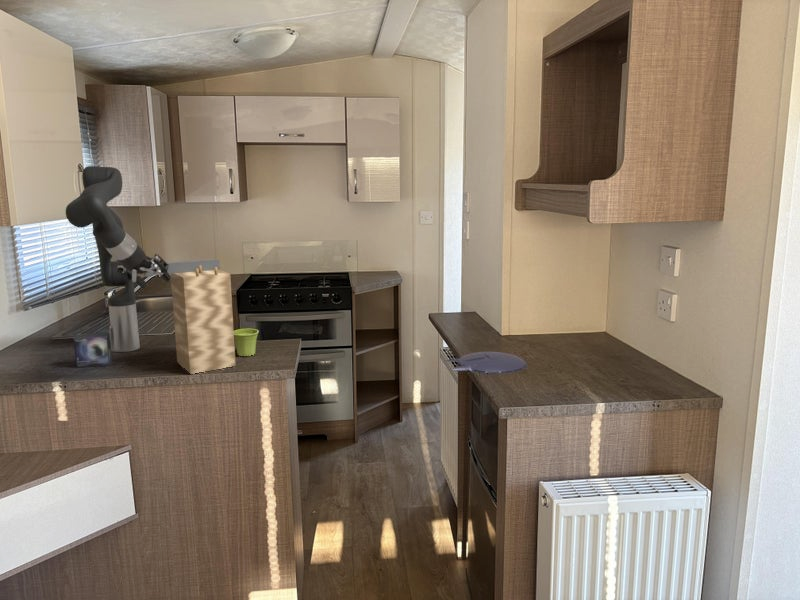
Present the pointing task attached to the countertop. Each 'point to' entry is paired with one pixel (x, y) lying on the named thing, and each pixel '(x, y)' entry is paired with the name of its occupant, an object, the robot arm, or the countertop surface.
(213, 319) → the oak block
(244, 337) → the plant pot
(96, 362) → the small box
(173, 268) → the bar
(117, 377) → the countertop surface
